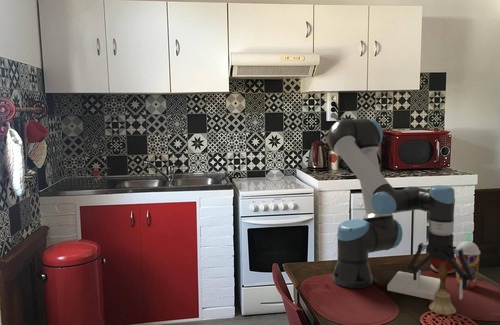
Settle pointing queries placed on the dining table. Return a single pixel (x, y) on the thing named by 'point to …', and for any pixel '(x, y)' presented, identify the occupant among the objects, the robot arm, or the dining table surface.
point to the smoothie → (469, 261)
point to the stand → (414, 285)
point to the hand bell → (442, 295)
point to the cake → (437, 263)
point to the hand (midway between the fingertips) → (438, 293)
